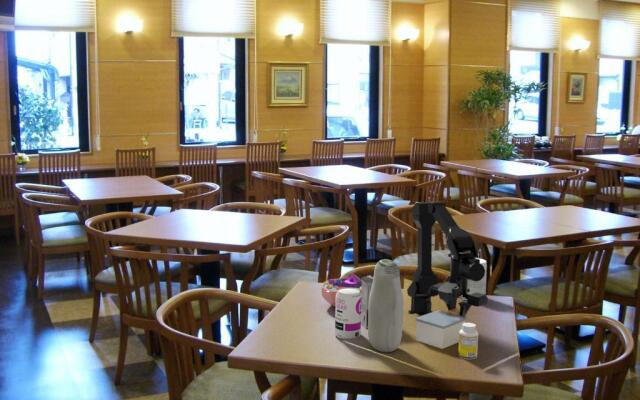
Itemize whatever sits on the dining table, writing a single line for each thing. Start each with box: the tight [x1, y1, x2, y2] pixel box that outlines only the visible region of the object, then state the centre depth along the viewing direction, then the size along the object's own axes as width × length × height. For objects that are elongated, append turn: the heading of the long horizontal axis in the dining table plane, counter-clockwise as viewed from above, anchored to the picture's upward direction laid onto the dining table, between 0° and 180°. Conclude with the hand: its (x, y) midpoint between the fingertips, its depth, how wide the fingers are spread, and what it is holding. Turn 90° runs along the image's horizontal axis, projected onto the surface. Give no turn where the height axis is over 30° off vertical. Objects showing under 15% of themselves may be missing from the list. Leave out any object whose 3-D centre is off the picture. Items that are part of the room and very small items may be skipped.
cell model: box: [321, 273, 362, 308], centre depth 261 cm, size 17×20×11 cm
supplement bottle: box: [457, 322, 479, 360], centre depth 213 cm, size 6×6×10 cm
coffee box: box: [361, 276, 374, 330], centre depth 240 cm, size 9×6×16 cm
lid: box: [415, 307, 468, 329], centre depth 227 cm, size 11×17×3 cm, turn 135°
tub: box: [415, 321, 466, 350], centre depth 226 cm, size 10×12×7 cm
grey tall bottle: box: [367, 258, 405, 353], centre depth 216 cm, size 10×10×28 cm
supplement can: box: [334, 288, 362, 340], centre depth 229 cm, size 8×8×15 cm
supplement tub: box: [462, 257, 488, 296], centre depth 274 cm, size 10×10×15 cm
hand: (456, 320), depth 232 cm, fingers closed on lid, 3 cm apart
